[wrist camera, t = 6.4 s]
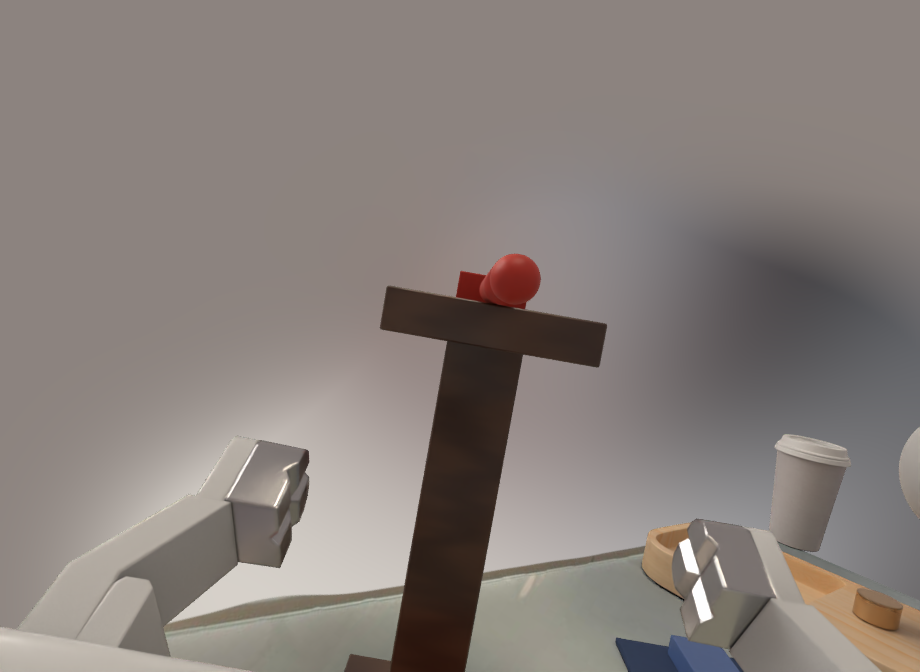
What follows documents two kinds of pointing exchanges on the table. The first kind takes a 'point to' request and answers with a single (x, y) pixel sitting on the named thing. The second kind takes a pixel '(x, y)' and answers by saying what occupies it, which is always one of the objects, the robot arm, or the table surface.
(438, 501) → the brown stand
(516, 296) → the red toy mallet
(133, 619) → the robot arm
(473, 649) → the table surface
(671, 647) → the blue toy mallet
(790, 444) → the coffee cup
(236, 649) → the table surface
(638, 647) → the blue mat
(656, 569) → the lamp
